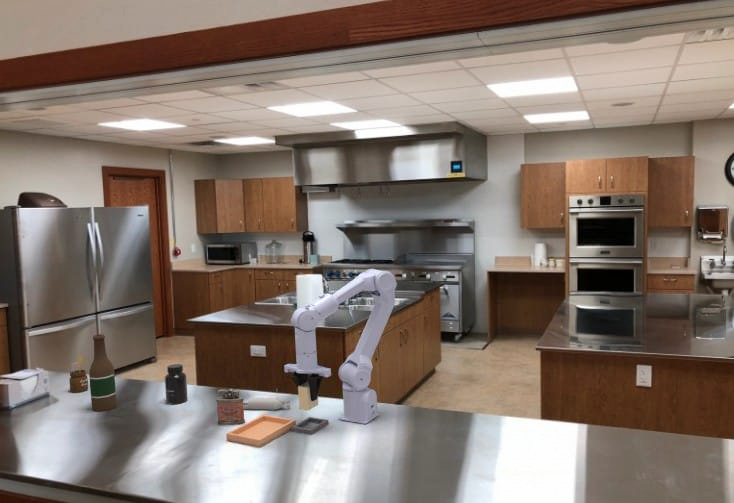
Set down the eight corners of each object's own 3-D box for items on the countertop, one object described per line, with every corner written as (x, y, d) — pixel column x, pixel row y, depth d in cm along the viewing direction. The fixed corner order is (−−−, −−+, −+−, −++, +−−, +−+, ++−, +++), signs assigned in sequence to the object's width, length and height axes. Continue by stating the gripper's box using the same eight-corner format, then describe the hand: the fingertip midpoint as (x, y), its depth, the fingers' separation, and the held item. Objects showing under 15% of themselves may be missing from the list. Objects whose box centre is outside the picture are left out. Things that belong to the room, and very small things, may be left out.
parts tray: (295, 426, 167) (295, 420, 167) (260, 447, 154) (259, 440, 154) (263, 421, 173) (263, 414, 173) (226, 440, 160) (226, 433, 160)
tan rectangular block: (318, 404, 167) (317, 382, 167) (308, 410, 163) (306, 387, 162) (309, 403, 169) (308, 381, 168) (299, 409, 164) (298, 386, 164)
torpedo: (232, 411, 183) (230, 391, 183) (237, 406, 188) (236, 386, 187) (288, 412, 180) (286, 391, 180) (292, 407, 185) (291, 386, 185)
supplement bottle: (165, 405, 191) (162, 369, 190) (167, 399, 198) (164, 364, 197) (187, 403, 193) (184, 367, 192) (188, 396, 199) (186, 362, 199)
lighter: (246, 420, 174) (244, 387, 174) (242, 424, 171) (240, 391, 170) (220, 420, 175) (217, 387, 174) (216, 425, 172) (213, 391, 171)
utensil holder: (67, 393, 209) (64, 360, 208) (74, 388, 216) (71, 356, 215) (84, 392, 210) (81, 359, 209) (91, 387, 216) (88, 355, 215)
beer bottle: (121, 407, 192) (115, 334, 190) (96, 413, 187) (90, 338, 185) (112, 402, 198) (106, 331, 196) (88, 408, 192) (81, 335, 190)
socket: (328, 424, 169) (328, 419, 168) (311, 434, 161) (311, 430, 161) (309, 420, 172) (309, 416, 172) (291, 431, 164) (291, 427, 164)
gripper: (276, 352, 165) (279, 400, 166) (319, 357, 158) (322, 407, 159) (291, 347, 171) (294, 392, 172) (334, 351, 164) (336, 398, 165)
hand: (308, 399), depth 166 cm, fingers closed on tan rectangular block, 3 cm apart
